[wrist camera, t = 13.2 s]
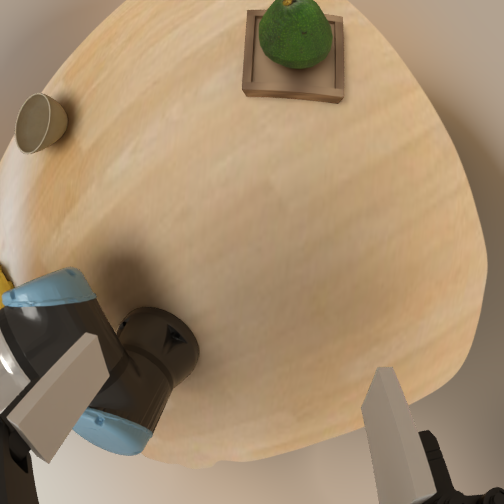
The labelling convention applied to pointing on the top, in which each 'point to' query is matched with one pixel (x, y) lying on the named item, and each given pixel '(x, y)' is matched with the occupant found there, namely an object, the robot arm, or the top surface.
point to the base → (293, 80)
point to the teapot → (4, 286)
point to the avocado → (295, 33)
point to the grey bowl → (39, 123)
